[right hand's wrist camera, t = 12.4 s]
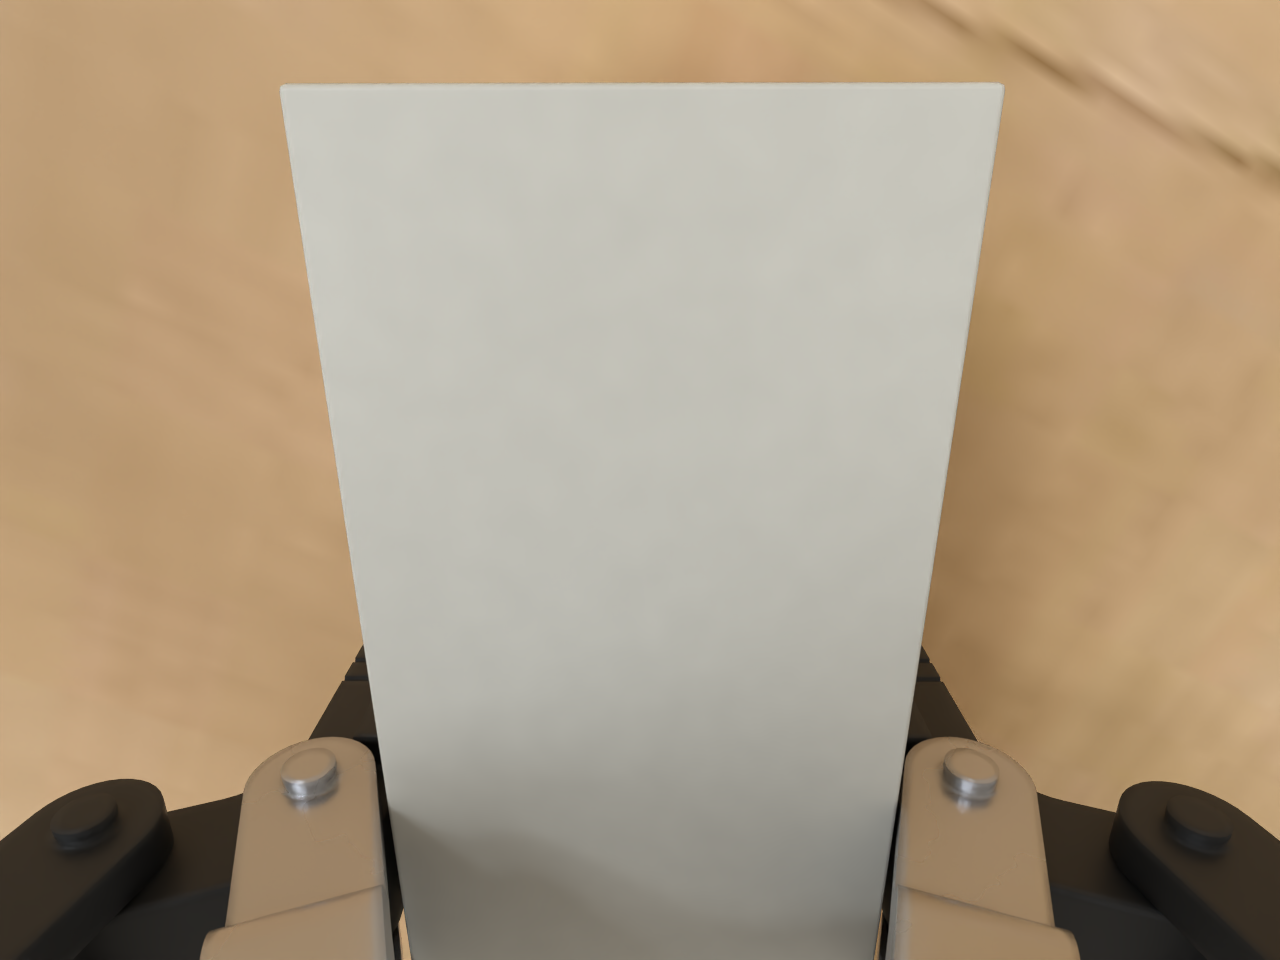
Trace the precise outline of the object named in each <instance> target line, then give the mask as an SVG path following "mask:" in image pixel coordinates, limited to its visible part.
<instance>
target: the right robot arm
mask: <svg viewBox="0 0 1280 960" xmlns="http://www.w3.org/2000/svg"><path fill="white" fill-rule="evenodd" d="M403 908H404V907H403V900H402V894H401V887H400V881H399V874H398V868H397V861H396V854H395V848H394V841H393V835H392V828H391V821H390V815H389V808H388V802H387V795H386V789H385V782H384V775H383V769H382V762H381V756H380V749H379V743H378V736H377V729H376V723H375V716H374V710H373V703H372V696H371V690H370V683H369V677H368V670H367V664H366V657H365V650H364V644H363V646H362V647H361V649H360V651H359V653H358V654H357V656H356V658H355V662H353V663H352V665H351V667H350V668H349V670H348V672H347V674H346V675H345V681H342V682H341V684H340V686H339V687H338V689H337V691H336V693H335V694H334V696H333V698H332V700H331V701H330V703H329V705H328V707H327V708H326V710H325V712H324V714H323V715H322V717H321V719H320V721H319V722H318V724H317V726H316V727H315V729H314V731H313V733H312V734H311V736H310V738H309V740H307V741H303V742H299V743H297V744H294V745H291V746H289V747H287V748H285V749H283V750H281V751H279V752H277V753H276V754H274V755H272V756H271V757H269V758H268V759H267V760H265V761H264V762H263V763H262V764H261V765H260V766H259V767H258V768H257V769H255V771H254V772H253V773H252V775H251V776H250V777H249V779H248V781H247V783H246V785H245V788H244V792H243V793H242V794H239V795H237V796H233V797H230V798H226V799H222V800H218V801H213V802H209V803H205V804H200V805H196V806H191V807H187V808H183V809H178V810H174V811H169V812H167V810H166V806H165V803H164V799H163V796H162V794H161V792H160V790H159V789H158V788H157V787H156V786H154V785H152V784H151V783H149V782H145V781H142V780H136V779H117V780H109V781H104V782H100V783H96V784H92V785H89V786H86V787H83V788H80V789H78V790H75V791H73V792H70V793H68V794H66V795H64V796H62V797H60V798H58V799H56V800H55V801H53V802H51V803H50V804H48V805H46V806H45V807H43V808H42V809H41V810H39V811H38V812H37V813H35V814H34V815H33V816H31V817H30V818H29V819H27V820H26V821H25V822H24V823H22V824H21V825H20V826H19V827H17V828H16V829H15V830H14V831H12V832H11V833H10V834H9V835H7V836H6V837H5V838H3V839H2V840H1V841H0V960H403V951H402V941H401V933H400V926H399V920H400V917H401V914H402V911H403ZM882 910H883V913H882V920H881V926H880V933H879V941H878V952H877V960H1280V841H1279V840H1278V839H1277V838H1275V837H1274V836H1273V835H1272V834H1270V833H1269V832H1268V831H1266V830H1265V829H1264V828H1263V827H1261V826H1260V825H1259V824H1258V823H1256V822H1255V821H1254V820H1253V819H1251V818H1250V817H1249V816H1247V815H1246V814H1245V813H1243V812H1242V811H1240V810H1239V809H1238V808H1236V807H1234V806H1233V805H1231V804H1229V803H1228V802H1226V801H1224V800H1222V799H1220V798H1218V797H1216V796H1214V795H1212V794H1209V793H1207V792H1204V791H1202V790H1199V789H1196V788H1193V787H1189V786H1186V785H1181V784H1177V783H1171V782H1163V781H1150V782H1142V783H1139V784H1135V785H1133V786H1131V787H1129V788H1128V789H1126V790H1125V792H1124V793H1123V794H1122V796H1121V798H1120V801H1119V804H1118V808H1117V811H1116V813H1115V812H1111V811H1106V810H1102V809H1097V808H1093V807H1089V806H1084V805H1080V804H1075V803H1071V802H1067V801H1063V800H1059V799H1055V798H1052V797H1049V796H1046V795H1043V794H1040V793H1038V792H1036V788H1035V785H1034V783H1033V781H1032V779H1031V777H1030V776H1029V775H1028V773H1027V772H1026V771H1025V769H1024V768H1023V767H1021V766H1020V765H1019V764H1018V763H1017V762H1016V761H1015V760H1013V759H1012V758H1011V757H1009V756H1008V755H1006V754H1004V753H1003V752H1001V751H999V750H997V749H995V748H993V747H991V746H989V745H986V744H983V743H981V742H978V741H977V740H976V738H975V736H974V734H973V733H972V731H971V729H970V728H969V726H968V724H967V722H966V721H965V719H964V717H963V716H962V714H961V712H960V710H959V709H958V707H957V705H956V704H955V702H954V700H953V698H952V697H951V695H950V693H949V692H948V690H947V688H946V686H945V685H944V683H943V682H940V676H939V674H938V673H937V671H936V669H935V668H934V666H933V664H932V663H930V662H929V657H928V656H927V654H926V652H925V650H924V649H923V647H922V645H921V650H920V657H919V663H918V670H917V677H916V683H915V690H914V696H913V703H912V710H911V716H910V723H909V730H908V736H907V743H906V749H905V756H904V763H903V769H902V776H901V783H900V789H899V796H898V802H897V809H896V816H895V822H894V829H893V836H892V842H891V849H890V856H889V862H888V869H887V875H886V882H885V889H884V895H883V902H882Z"/></svg>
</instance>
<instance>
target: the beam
mask: <svg viewBox="0 0 1280 960" xmlns="http://www.w3.org/2000/svg"><path fill="white" fill-rule="evenodd" d="M1004 93H1005V87H1004V84H1001V83H999V82H728V83H286V84H284V85H282V86H280V98H281V104H282V111H283V117H284V124H285V131H286V137H287V144H288V150H289V157H290V164H291V170H292V177H293V183H294V190H295V196H296V203H297V210H298V216H299V223H300V229H301V236H302V242H303V249H304V256H305V262H306V269H307V275H308V282H309V289H310V295H311V302H312V308H313V315H314V321H315V328H316V335H317V341H318V348H319V354H320V361H321V368H322V374H323V381H324V387H325V394H326V400H327V407H328V414H329V420H330V427H331V433H332V440H333V446H334V453H335V460H336V466H337V473H338V479H339V486H340V493H341V499H342V506H343V512H344V519H345V525H346V532H347V539H348V545H349V552H350V558H351V565H352V571H353V578H354V585H355V591H356V598H357V604H358V611H359V618H360V624H361V631H362V637H363V644H364V650H365V657H366V664H367V670H368V677H369V683H370V690H371V696H372V703H373V710H374V716H375V723H376V729H377V736H378V743H379V749H380V756H381V762H382V769H383V775H384V782H385V789H386V795H387V802H388V808H389V815H390V821H391V828H392V835H393V841H394V848H395V854H396V861H397V868H398V874H399V881H400V887H401V894H402V900H403V907H404V914H405V920H406V927H407V933H408V940H409V946H410V953H411V960H874V955H875V948H876V942H877V935H878V928H879V922H880V915H881V909H882V902H883V895H884V889H885V882H886V875H887V869H888V862H889V856H890V849H891V842H892V836H893V829H894V822H895V816H896V809H897V802H898V796H899V789H900V783H901V776H902V769H903V763H904V756H905V749H906V743H907V736H908V730H909V723H910V716H911V710H912V703H913V696H914V690H915V683H916V677H917V670H918V663H919V657H920V650H921V643H922V637H923V630H924V624H925V617H926V610H927V604H928V597H929V590H930V584H931V577H932V571H933V564H934V557H935V551H936V544H937V537H938V531H939V524H940V518H941V511H942V504H943V498H944V491H945V484H946V478H947V471H948V464H949V458H950V451H951V445H952V438H953V431H954V425H955V418H956V411H957V405H958V398H959V392H960V385H961V378H962V372H963V365H964V358H965V352H966V345H967V339H968V332H969V325H970V319H971V312H972V305H973V299H974V292H975V286H976V279H977V272H978V266H979V259H980V252H981V246H982V239H983V233H984V226H985V219H986V213H987V206H988V199H989V193H990V186H991V179H992V173H993V166H994V160H995V153H996V146H997V140H998V133H999V126H1000V120H1001V113H1002V107H1003V100H1004Z"/></svg>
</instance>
